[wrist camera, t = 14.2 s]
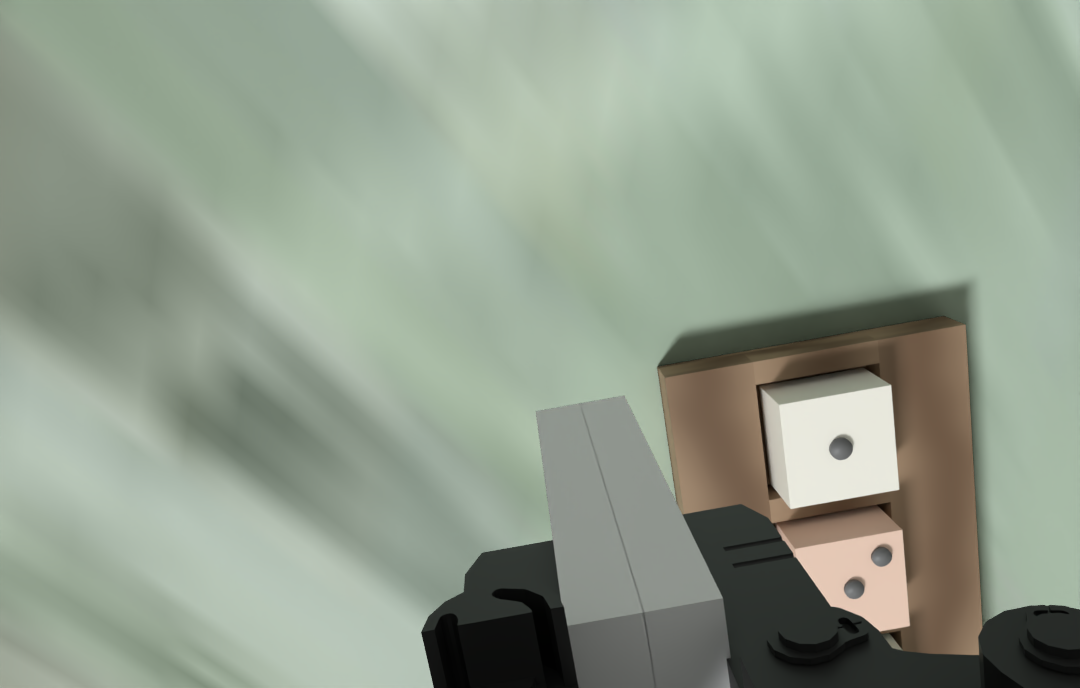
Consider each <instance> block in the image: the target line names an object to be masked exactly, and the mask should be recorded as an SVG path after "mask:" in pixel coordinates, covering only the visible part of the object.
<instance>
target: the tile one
mask: <svg viewBox="0 0 1080 688" xmlns="http://www.w3.org/2000/svg"><path fill="white" fill-rule="evenodd" d="M759 388H760V397H761V406H762V414H763V423H764V432H765V440H766V449H767V458H768V466H769V475H770V483H771V485H772V486H773V487H774V489H775V490H776V491H777V492H778V494H779V495H780V496H781V497H782V499H783V500H784V501H785V503H786V504H787V505H788V506H789V508H790V509H794V508H799V507H805V506H811V505H816V504H822V503H827V502H833V501H839V500H844V499H850V498H856V497H861V496H867V495H872V494H878V493H884V492H889V491H895V490H899V480H898V467H897V454H896V441H895V428H894V415H893V403H892V390H891V385H890V384H889V383H887V382H885V381H884V380H882V379H881V378H879V377H877V376H876V375H874V374H873V373H871V372H870V371H868V370H866V369H865V368H858V369H853V370H847V371H841V372H836V373H830V374H824V375H819V376H813V377H807V378H802V379H796V380H791V381H785V382H779V383H774V384H768V385H762V386H759Z"/></svg>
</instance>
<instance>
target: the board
mask: <svg viewBox="0 0 1080 688" xmlns="http://www.w3.org/2000/svg"><path fill="white" fill-rule="evenodd" d="M858 368H865V369H866V370H868V371H870V372H871V373H873V374H874V375H876V376H877V377H879V378H881V379H882V380H884V381H885V382H887V383H889V384H890V385H891V390H892V403H893V415H894V428H895V441H896V454H897V467H898V480H899V490H895V491H889V492H884V493H878V494H872V495H867V496H861V497H856V498H850V499H844V500H839V501H833V502H827V503H822V504H816V505H811V506H805V507H799V508H794V509H790V508H789V506H788V505H787V504H786V503H785V501H784V500H783V499H782V497H781V496H780V495H779V494H778V492H777V491H776V490H775V489H774V487H773V486H772V485H771V483H770V475H769V466H768V458H767V449H766V440H765V432H764V423H763V414H762V406H761V397H760V388H759V386H762V385H768V384H774V383H779V382H785V381H791V380H796V379H802V378H807V377H813V376H819V375H824V374H830V373H836V372H841V371H847V370H853V369H858ZM657 369H658V376H659V383H660V390H661V397H662V404H663V411H664V418H665V425H666V432H667V439H668V446H669V453H670V460H671V467H672V474H673V481H674V487H675V494H676V501H677V505H678V507H679V509H680V511H681V513H682V514H687V513H693V512H699V511H704V510H710V509H715V508H721V507H727V506H732V505H738V504H742V505H744V506H746V507H748V508H750V509H752V510H754V511H756V512H758V513H760V514H762V515H764V516H766V517H768V518H769V520H770V521H771V522H772V524H773V525H774V527H775V523H776V522H781V521H787V520H793V519H798V518H804V517H809V516H815V515H821V514H826V513H832V512H838V511H843V510H849V509H854V508H860V507H866V506H871V505H877V506H878V507H879V508H880V509H881V510H882V511H883V512H885V513H886V514H887V515H888V516H889V517H890V518H891V519H892V520H893V521H894V522H895V523H896V524H897V525H898V526H899V527H900V528H901V529H902V531H903V544H904V557H905V570H906V583H907V596H908V609H909V622H910V626H908V627H902V628H897V629H891V630H885V631H880V633H881V634H884V633H889V634H890V635H891V636H892V637H893V639H894V640H895V641H896V643H897V644H898V645H899V646H900V648H901V649H902V650H903V651H907V652H918V653H928V654H959V655H979V644H978V636H979V634H980V632H981V630H982V611H981V593H980V575H979V557H978V539H977V521H976V503H975V485H974V467H973V449H972V431H971V413H970V395H969V377H968V359H967V341H966V325H965V324H963V323H960V322H958V321H955V320H953V319H950V318H948V317H945V316H941V317H935V318H930V319H924V320H918V321H913V322H907V323H901V324H896V325H890V326H884V327H879V328H873V329H867V330H862V331H856V332H850V333H845V334H839V335H833V336H828V337H822V338H816V339H811V340H805V341H800V342H794V343H788V344H783V345H777V346H771V347H766V348H760V349H754V350H749V351H743V352H737V353H732V354H726V355H720V356H715V357H709V358H703V359H698V360H692V361H686V362H681V363H675V364H670V365H664V366H658V367H657ZM775 528H776V527H775Z"/></svg>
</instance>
